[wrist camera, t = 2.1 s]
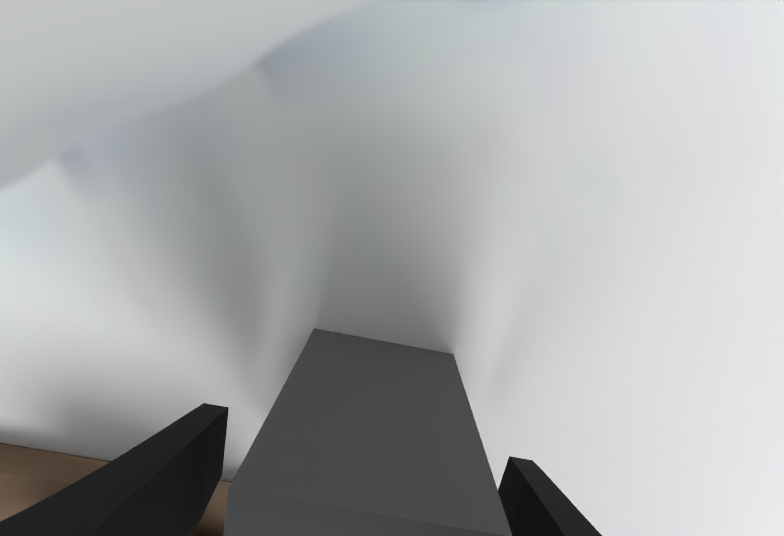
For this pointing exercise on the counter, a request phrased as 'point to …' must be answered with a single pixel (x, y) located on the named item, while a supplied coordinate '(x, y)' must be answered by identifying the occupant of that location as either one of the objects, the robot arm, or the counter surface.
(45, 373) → the counter surface
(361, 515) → the block
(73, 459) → the door frame
